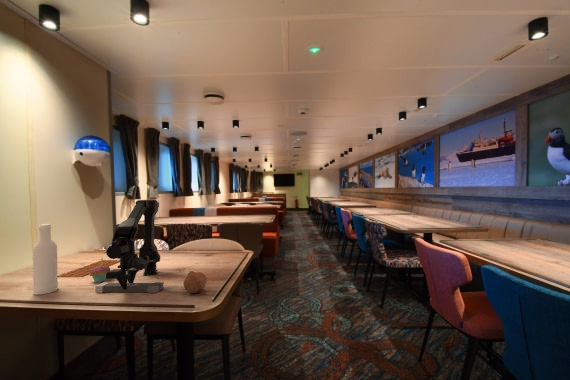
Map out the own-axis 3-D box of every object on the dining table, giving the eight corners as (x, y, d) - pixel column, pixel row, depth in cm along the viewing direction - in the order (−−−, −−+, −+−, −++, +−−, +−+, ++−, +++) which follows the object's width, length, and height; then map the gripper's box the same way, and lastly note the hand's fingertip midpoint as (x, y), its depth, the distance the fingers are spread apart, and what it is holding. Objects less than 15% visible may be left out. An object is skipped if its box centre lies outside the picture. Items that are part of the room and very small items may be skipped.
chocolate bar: (123, 261, 155) (123, 259, 155) (81, 278, 126) (81, 276, 126) (102, 261, 156) (102, 259, 156) (55, 278, 126) (55, 276, 126)
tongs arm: (108, 289, 108) (108, 284, 108) (112, 287, 111) (112, 282, 111) (160, 289, 107) (160, 284, 107) (163, 287, 110) (163, 282, 110)
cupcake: (114, 278, 123) (114, 255, 123) (95, 284, 115) (95, 259, 115) (104, 276, 126) (104, 253, 126) (85, 282, 119) (85, 257, 119)
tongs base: (94, 293, 106) (94, 286, 106) (103, 288, 110) (103, 282, 110) (156, 293, 104) (156, 286, 104) (162, 288, 109) (162, 282, 109)
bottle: (35, 296, 103) (35, 226, 103) (30, 292, 107) (29, 225, 107) (60, 289, 110) (59, 223, 110) (54, 286, 114) (53, 222, 114)
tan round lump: (187, 298, 105) (178, 277, 107) (207, 287, 111) (199, 267, 112) (190, 298, 98) (181, 275, 99) (212, 286, 103) (203, 264, 105)
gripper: (130, 258, 98) (131, 296, 98) (157, 247, 117) (157, 279, 117) (104, 258, 98) (104, 297, 98) (134, 247, 117) (135, 280, 117)
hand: (128, 287), depth 108 cm, fingers open, 3 cm apart
